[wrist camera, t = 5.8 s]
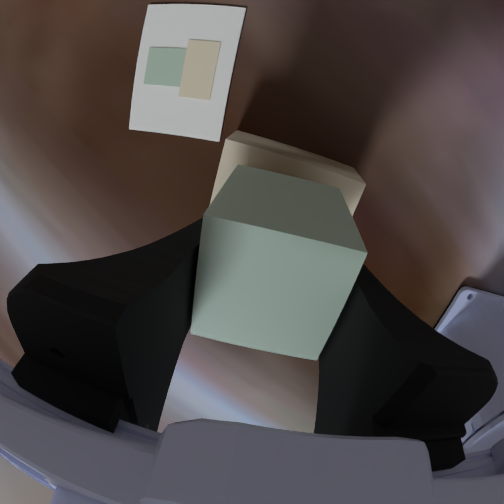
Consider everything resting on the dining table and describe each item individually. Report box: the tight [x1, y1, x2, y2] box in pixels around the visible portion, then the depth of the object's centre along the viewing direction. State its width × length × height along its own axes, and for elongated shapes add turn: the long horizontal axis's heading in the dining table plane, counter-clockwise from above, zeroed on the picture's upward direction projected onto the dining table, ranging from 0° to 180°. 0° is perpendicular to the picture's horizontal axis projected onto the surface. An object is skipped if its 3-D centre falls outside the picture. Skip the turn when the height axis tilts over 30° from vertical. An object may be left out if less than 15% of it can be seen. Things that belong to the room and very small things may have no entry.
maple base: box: [210, 130, 366, 216], centre depth 15 cm, size 6×6×3 cm
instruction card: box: [129, 4, 246, 142], centre depth 12 cm, size 5×7×1 cm
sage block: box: [191, 164, 367, 360], centre depth 10 cm, size 4×4×5 cm
